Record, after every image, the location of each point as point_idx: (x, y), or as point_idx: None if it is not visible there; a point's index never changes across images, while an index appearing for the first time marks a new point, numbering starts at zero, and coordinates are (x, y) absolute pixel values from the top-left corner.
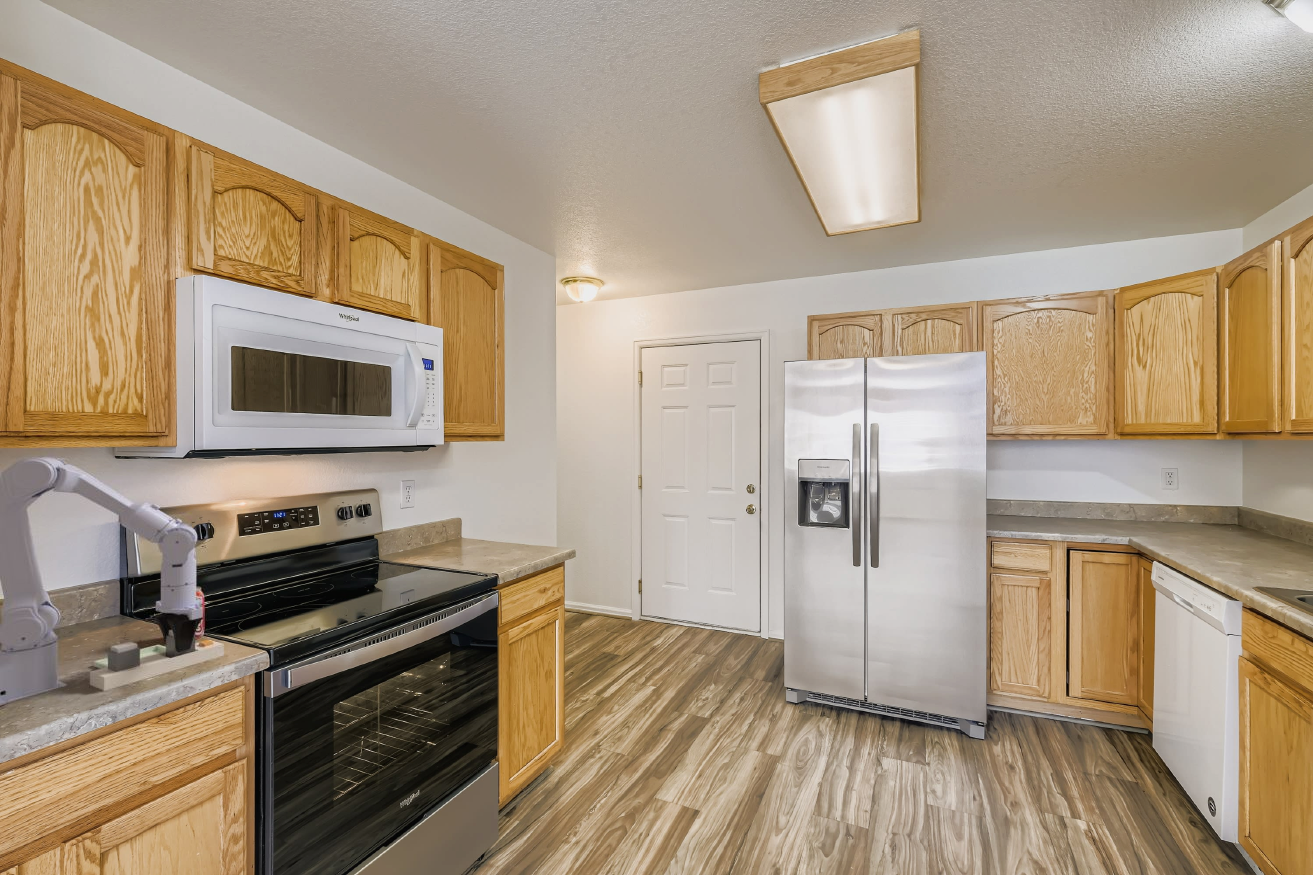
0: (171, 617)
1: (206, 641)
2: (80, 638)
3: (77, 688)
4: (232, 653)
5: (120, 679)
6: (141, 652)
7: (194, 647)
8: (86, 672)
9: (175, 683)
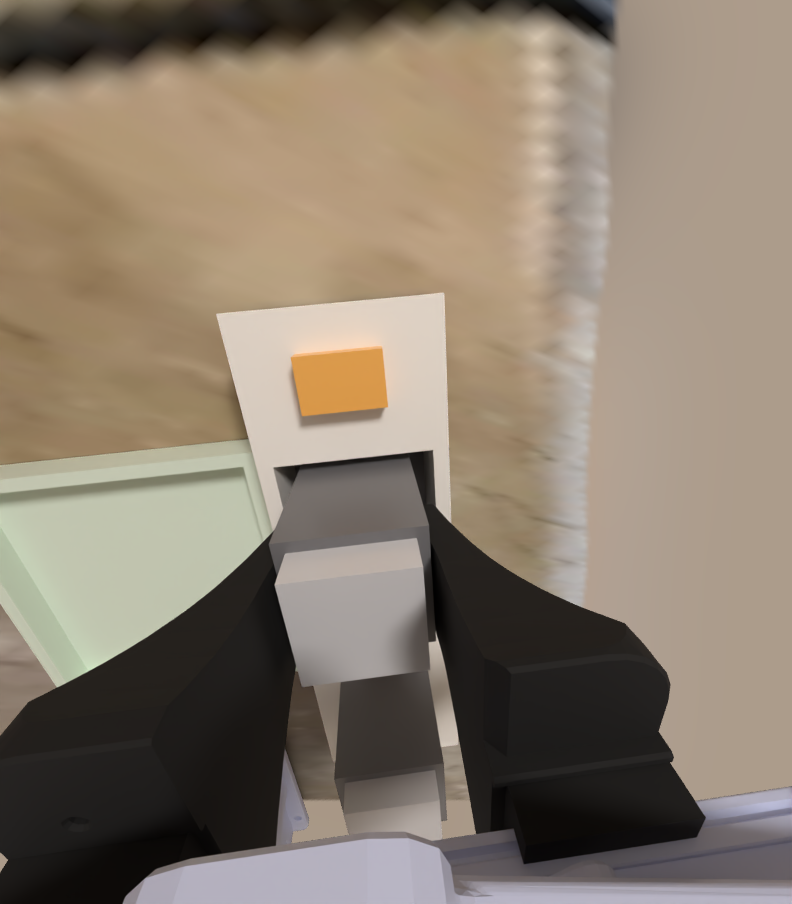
0: (244, 811)
1: (331, 376)
2: None
3: (313, 716)
4: (381, 218)
5: None
6: (3, 552)
7: (412, 473)
8: None
9: (572, 547)
